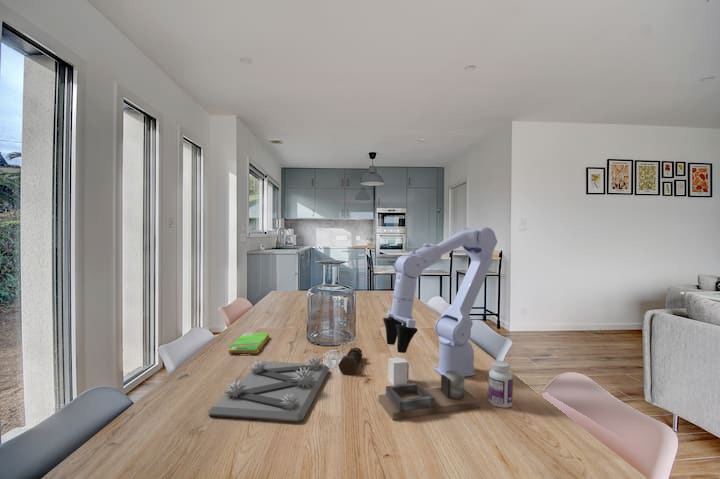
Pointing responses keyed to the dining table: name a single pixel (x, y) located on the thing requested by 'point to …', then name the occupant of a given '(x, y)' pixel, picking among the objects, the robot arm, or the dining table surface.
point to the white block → (397, 370)
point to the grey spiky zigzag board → (273, 391)
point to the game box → (249, 343)
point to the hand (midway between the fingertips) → (395, 348)
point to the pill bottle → (500, 385)
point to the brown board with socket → (428, 398)
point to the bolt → (350, 361)
